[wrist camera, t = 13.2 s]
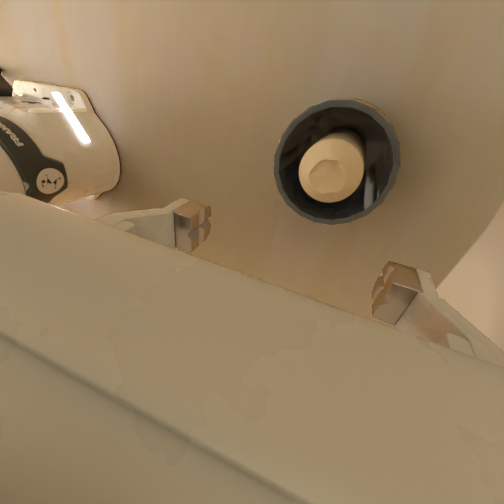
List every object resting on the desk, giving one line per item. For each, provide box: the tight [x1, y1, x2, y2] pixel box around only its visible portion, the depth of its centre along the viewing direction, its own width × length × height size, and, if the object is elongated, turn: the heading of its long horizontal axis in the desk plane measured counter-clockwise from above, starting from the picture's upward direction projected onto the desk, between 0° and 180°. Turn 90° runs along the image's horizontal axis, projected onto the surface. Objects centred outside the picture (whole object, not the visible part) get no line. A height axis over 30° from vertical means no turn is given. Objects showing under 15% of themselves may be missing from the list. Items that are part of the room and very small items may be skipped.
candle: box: [299, 129, 365, 202], centre depth 25 cm, size 6×6×10 cm
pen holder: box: [274, 99, 400, 225], centre depth 26 cm, size 11×11×9 cm
